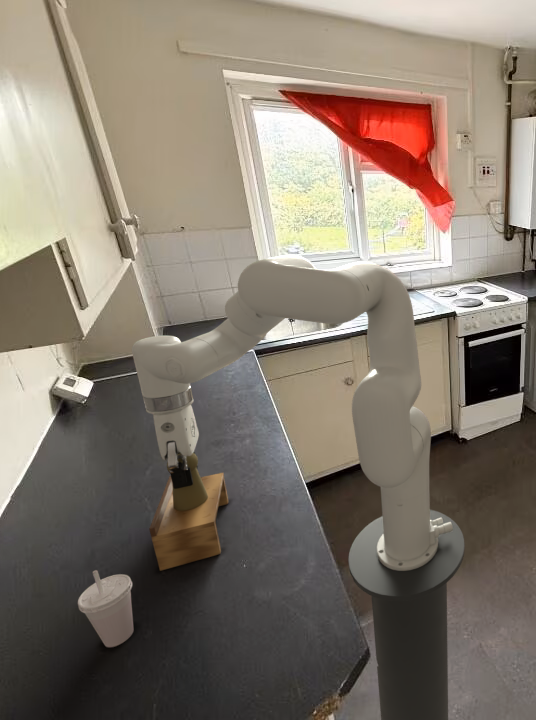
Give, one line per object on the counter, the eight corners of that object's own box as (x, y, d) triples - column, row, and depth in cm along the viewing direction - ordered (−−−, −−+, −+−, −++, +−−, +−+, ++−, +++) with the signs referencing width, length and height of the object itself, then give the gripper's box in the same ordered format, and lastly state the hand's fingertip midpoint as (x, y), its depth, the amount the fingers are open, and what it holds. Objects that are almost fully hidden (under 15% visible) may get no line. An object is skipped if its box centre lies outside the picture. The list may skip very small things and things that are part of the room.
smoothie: (81, 656, 66) (56, 586, 62) (115, 618, 72) (94, 552, 68) (123, 655, 67) (101, 585, 63) (153, 617, 73) (135, 552, 69)
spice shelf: (228, 500, 102) (221, 465, 99) (220, 553, 86) (212, 513, 83) (178, 513, 97) (169, 475, 94) (159, 571, 82) (149, 528, 79)
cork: (207, 505, 88) (197, 459, 85) (171, 514, 85) (160, 467, 82) (209, 488, 93) (200, 445, 90) (175, 497, 90) (164, 452, 87)
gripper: (184, 413, 77) (202, 497, 82) (198, 380, 91) (212, 453, 97) (132, 421, 74) (154, 508, 79) (155, 385, 88) (172, 461, 93)
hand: (186, 477), depth 88 cm, fingers closed on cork, 5 cm apart
